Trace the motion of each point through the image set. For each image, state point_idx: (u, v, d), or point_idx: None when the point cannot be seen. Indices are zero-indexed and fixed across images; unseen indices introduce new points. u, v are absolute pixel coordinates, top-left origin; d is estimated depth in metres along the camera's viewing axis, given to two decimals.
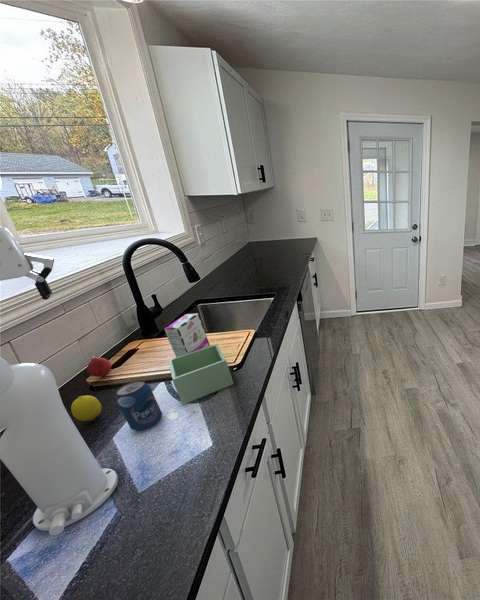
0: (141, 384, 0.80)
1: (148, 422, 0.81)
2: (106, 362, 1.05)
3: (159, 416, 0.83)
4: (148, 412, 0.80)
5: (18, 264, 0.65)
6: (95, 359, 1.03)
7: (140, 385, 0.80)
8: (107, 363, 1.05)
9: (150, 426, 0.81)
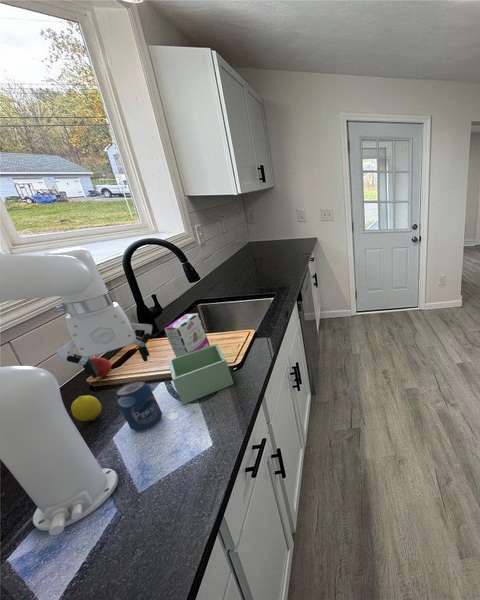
0: (141, 384, 0.80)
1: (148, 422, 0.81)
2: (106, 362, 1.05)
3: (159, 416, 0.83)
4: (148, 412, 0.80)
5: (128, 334, 0.74)
6: (95, 359, 1.03)
7: (140, 385, 0.80)
8: (107, 363, 1.05)
9: (150, 426, 0.81)
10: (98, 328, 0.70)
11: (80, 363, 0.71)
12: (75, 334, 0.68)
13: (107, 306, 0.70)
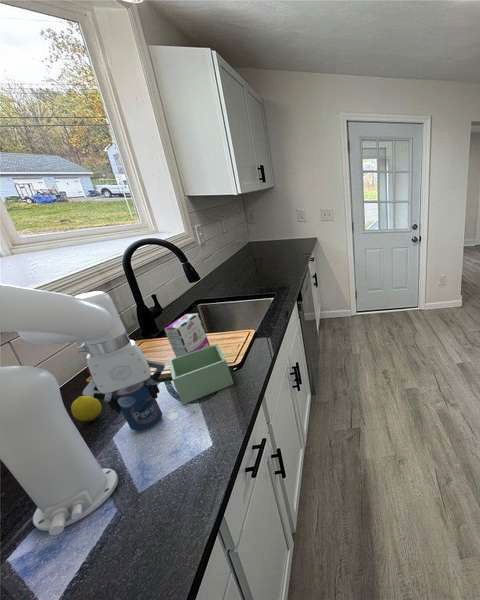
0: (141, 384, 0.80)
1: (148, 422, 0.81)
2: None
3: (159, 416, 0.83)
4: (148, 412, 0.80)
5: (143, 371, 0.78)
6: None
7: (140, 385, 0.80)
8: None
9: (150, 426, 0.81)
10: (116, 366, 0.74)
11: (105, 400, 0.76)
12: (95, 373, 0.72)
13: (125, 345, 0.74)
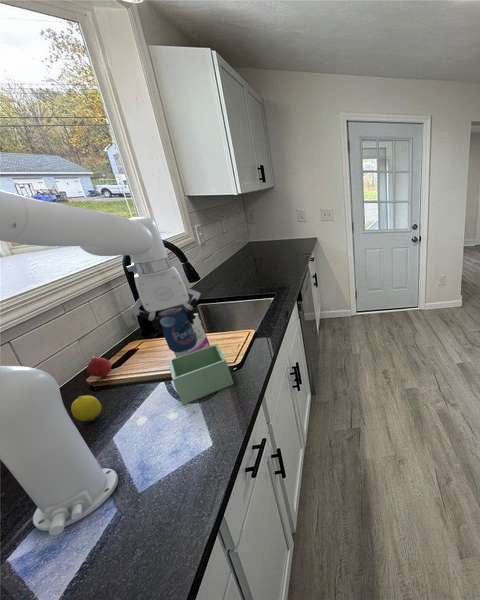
0: (180, 309, 0.88)
1: (186, 343, 0.88)
2: (106, 362, 1.05)
3: (195, 340, 0.91)
4: (186, 334, 0.88)
5: (183, 294, 0.85)
6: (95, 359, 1.03)
7: (179, 309, 0.88)
8: (107, 363, 1.05)
9: (187, 348, 0.89)
10: (160, 287, 0.82)
11: (150, 319, 0.83)
12: (142, 291, 0.80)
13: (168, 268, 0.82)
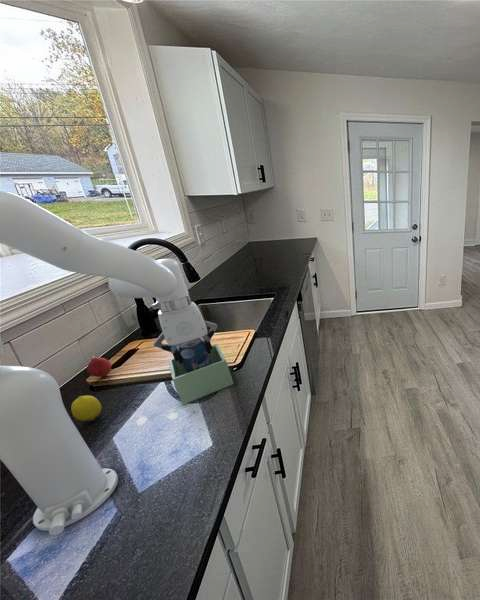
0: (198, 340, 0.94)
1: None
2: (106, 362, 1.05)
3: None
4: (204, 364, 0.94)
5: (202, 328, 0.91)
6: (95, 359, 1.03)
7: (197, 341, 0.94)
8: (107, 363, 1.05)
9: None
10: (181, 322, 0.88)
11: (171, 351, 0.89)
12: (165, 327, 0.86)
13: (189, 305, 0.88)
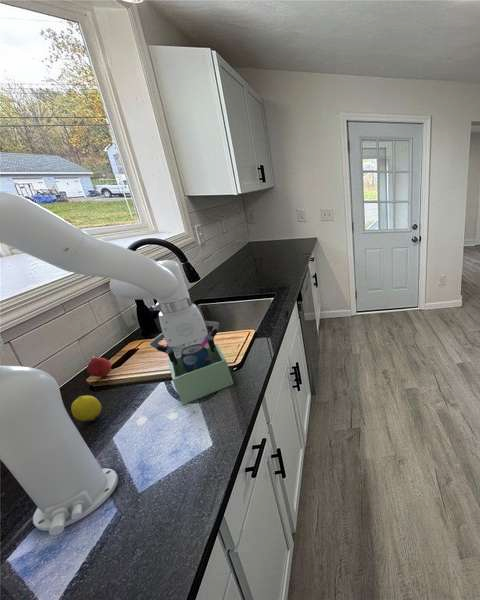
0: (200, 347, 0.95)
1: None
2: (106, 362, 1.05)
3: None
4: None
5: (202, 329, 0.92)
6: (95, 359, 1.03)
7: (200, 347, 0.95)
8: (107, 363, 1.05)
9: None
10: (182, 324, 0.88)
11: (166, 352, 0.89)
12: (165, 328, 0.86)
13: (189, 306, 0.88)
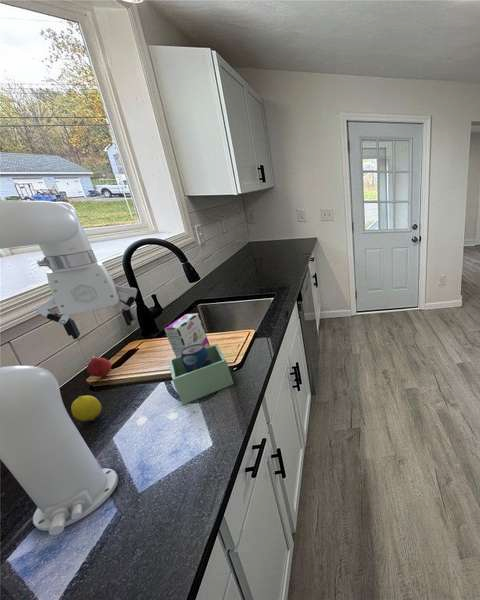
0: (200, 347, 0.95)
1: None
2: (106, 362, 1.05)
3: None
4: None
5: (110, 295, 0.72)
6: (95, 359, 1.03)
7: (200, 347, 0.95)
8: (107, 363, 1.05)
9: None
10: (79, 285, 0.69)
11: (60, 322, 0.69)
12: (55, 290, 0.67)
13: (89, 263, 0.69)
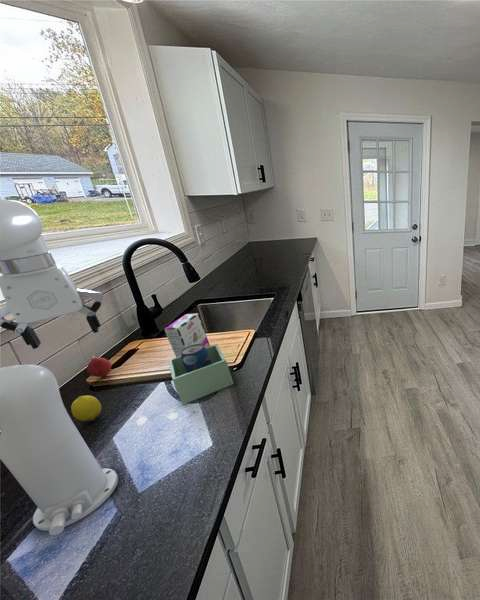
0: (200, 347, 0.95)
1: None
2: (106, 362, 1.05)
3: None
4: None
5: (72, 301, 0.67)
6: (95, 359, 1.03)
7: (200, 347, 0.95)
8: (107, 363, 1.05)
9: None
10: (36, 291, 0.63)
11: (17, 331, 0.64)
12: (9, 297, 0.61)
13: (47, 267, 0.64)
